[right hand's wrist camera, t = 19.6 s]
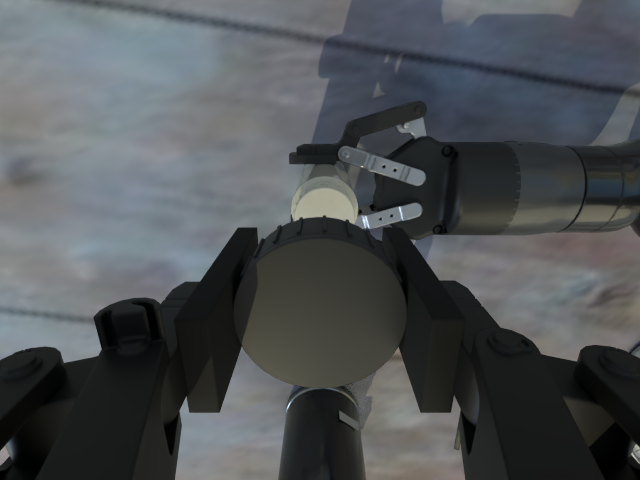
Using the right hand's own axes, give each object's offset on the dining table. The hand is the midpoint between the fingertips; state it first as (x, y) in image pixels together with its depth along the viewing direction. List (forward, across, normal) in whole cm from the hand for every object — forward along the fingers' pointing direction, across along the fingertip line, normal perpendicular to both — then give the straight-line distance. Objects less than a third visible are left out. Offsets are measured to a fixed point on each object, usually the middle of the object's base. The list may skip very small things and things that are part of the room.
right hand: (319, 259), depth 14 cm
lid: (-4, 0, 0) cm, 4 cm away
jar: (+22, 0, 0) cm, 22 cm away
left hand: (+15, -2, 0) cm, 16 cm away
